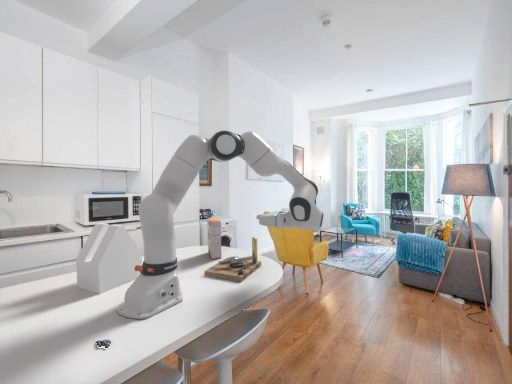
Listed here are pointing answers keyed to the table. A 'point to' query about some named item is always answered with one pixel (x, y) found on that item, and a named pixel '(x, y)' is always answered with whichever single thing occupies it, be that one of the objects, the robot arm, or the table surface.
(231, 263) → the capstan
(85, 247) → the milk carton
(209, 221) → the cracker box
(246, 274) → the stand
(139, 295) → the robot arm
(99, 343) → the blueberries
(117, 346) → the table surface
